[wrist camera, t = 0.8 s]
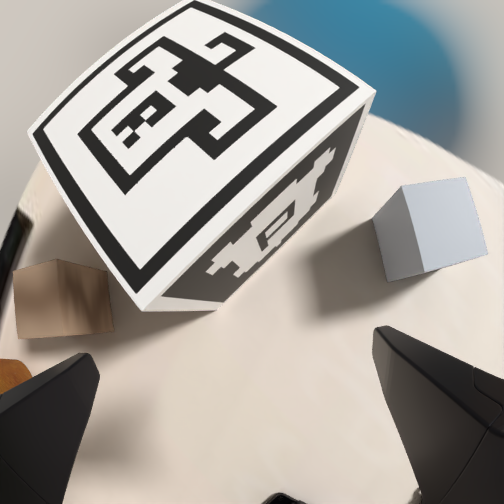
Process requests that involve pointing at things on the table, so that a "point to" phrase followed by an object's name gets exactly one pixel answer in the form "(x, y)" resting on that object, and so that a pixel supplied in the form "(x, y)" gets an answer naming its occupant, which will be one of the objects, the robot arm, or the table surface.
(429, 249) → the slate block
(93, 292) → the walnut block
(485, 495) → the robot arm
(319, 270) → the table surface
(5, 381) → the disposable coffee cup
